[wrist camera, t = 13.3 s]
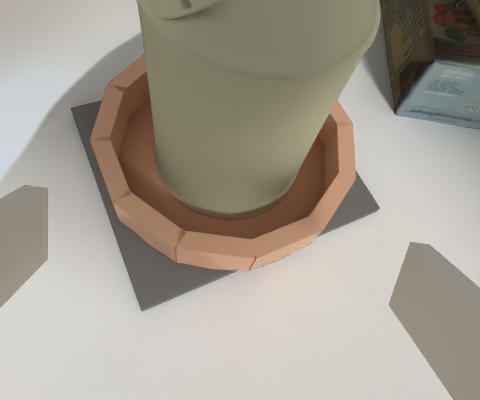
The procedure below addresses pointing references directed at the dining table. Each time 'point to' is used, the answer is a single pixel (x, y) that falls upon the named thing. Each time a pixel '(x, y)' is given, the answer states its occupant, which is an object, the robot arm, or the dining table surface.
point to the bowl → (201, 226)
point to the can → (245, 92)
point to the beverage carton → (434, 59)
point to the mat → (161, 266)
